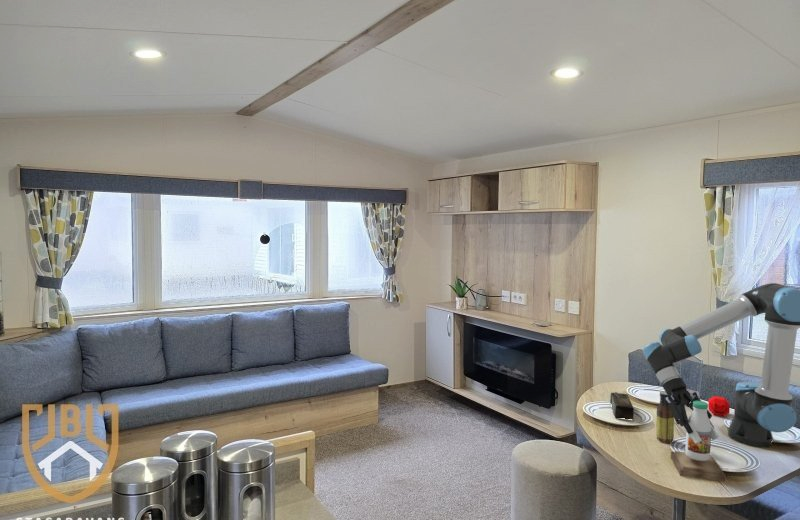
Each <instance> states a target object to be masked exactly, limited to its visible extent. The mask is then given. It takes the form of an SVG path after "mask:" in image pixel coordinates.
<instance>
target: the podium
mask: <svg viewBox="0 0 800 520" xmlns="http://www.w3.org/2000/svg"><path fill="white" fill-rule="evenodd" d="M670 459H671V461H672V462H673V464H674V466H675V469H676V470H677V473H678V474H679V476H681V477H689V478H696V479H705V480H713V481H714V480H715V481H721V482H726V477H727V475H726V473H725V472H724V471H723V469H722V468H721V467H720V465H719V464H718V462H717V461H716V460H715V458H714V457H713V456H712V455H711V454H710V458H709V460H707V461H698V460H694V459H691V458H689V457H688V456H687V455H686V453H685V451H677V450H676V451H675V450H674V452H672V451H671V452H670Z"/></svg>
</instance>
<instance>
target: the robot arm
mask: <svg viewBox="0 0 800 520" xmlns="http://www.w3.org/2000/svg"><path fill="white" fill-rule="evenodd" d="M761 314H764V322H766V323H767V325H768V327H767V333H766V342H765V348H764V349H765V350H764V355H763V356H764V357H763V363H762V371H761V379H760V382H754V381H740V382H737V383H736V385H735V389H734V390H735V394H734V395H735V397H734V414H733V415H734V416H733V418H732V421H730V425H729V426H728V429H727V435H728V437H729V438H730V439H732V440H734V441H736V442H738V443H741V444H744V445H748V446H752V447H760V448H763V447H764V448H765V447H770V446H772V445H773V444H772V443H771V441H772V440H773V441H774V437H773V433H783V432H786V431H788V430H790V429H792V428H793V427H794V425H795V424H796V421H797V413H796V411H795V410H794V408H793V407H792V404H793V396H792V395H791V393H790V392H789V389H790V381H791V376H792V375H791V374H792V369H793V360H794V353H795V347H796V340H797V334H798V332H797V331H798V329H800V289H799V288H797V287H793V286H788V285H785V284H781V283H773V282H772V283H765V284H762V285H760V286H757V287H754V288H753V289H750V290H748V291H746V292H744V293H742V294H740V295H739V296H738V299H734V300H733V301H731V302H728V303H726V304H725V305H724V304H723V305H722V306H720V307H718V308H715V309H714V310H711V311H710V312H709V311H708V312H707V313H705V314H702V315H700V316H699V317H697V318H694V319H693V320H690V321H688V322H685V323H683V324H682V325H679V326H677V327H675V328H673V329H672V328H665V329H663V330H661V331H660V333H659V336H658V340H659V341H655V342H650V343H649V344H646V345H645V346H644V347H643V348H642V354H643V355H644V357H645V359H646V362H647V364H649V366H650V368H651V369H652V371H653V373H654V375H655V376H656V377H657V380H658V381H659V382H660V384H661V385H662V388H663V390H664V391H665V392H666V393H667V394H668V395H670V396H669V397H667V398H666V399H665V401H666V403H667V404H668V405H669V408H670V410H671V412H672V414H673V416H674V421H675V423H676V424H677V425H679V426H680V427H684V429H685V431H687V433H688V434H690V436H691V438H692V439H693V441H694V443H695V444H696V443H698V442H700V441H702V440H701V438H700V437H699V435H698V433H697V432H696V430H695V428H694V427H693V425H692V423H689V422H688V419H689V417H688V415H687V410H686V407H687V408H689V409H690V410H691V411H692V412H693V402H694V401H702V400H701V399H700V397H699V396H698V393H697V392H696V391H695V392H690V391H689V390H687V384H686V382H685V381H684V378H682V377H681V374H680V373H679V370H678V369H677V368H676V367H675V365H674V364H676V363H678V362H681V361H684V360H686V359H689V358H692V357H695V356H696V355H698V354H700V353H701V352H703V351H702V350H703V349H702V345H701V343H700V342H699V339H701V338H704V337H706V336H708V335H710V334H713V333H714V332H715V333H716V332H717V331H719V330H722V329H723V328H724V329H725V328H726V327H728V326H730V325H732V324H735V323H737V322H739V321H741V320H744V319H746V318H748V317H750V316H751V317H757V316H760V315H761ZM707 415H708V418H709V420H710V419H711V418H712V417H713V414H712V413H711V412H710V411H709V409H708V410H707ZM710 423H711V441H714V440H716V439H718V438H720V436H719V434H718V432H717V431H716V430H715V427H714V425H713V423H712V422H711V420H710Z"/></svg>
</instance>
